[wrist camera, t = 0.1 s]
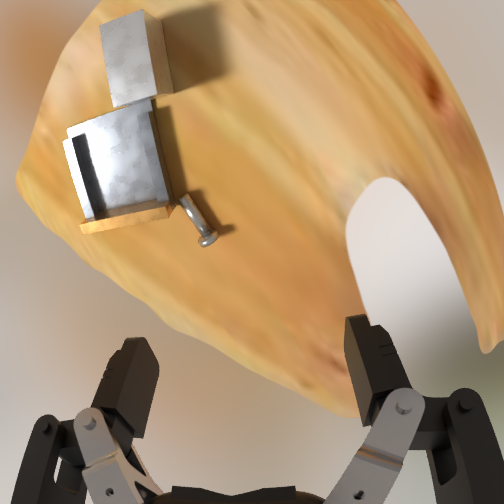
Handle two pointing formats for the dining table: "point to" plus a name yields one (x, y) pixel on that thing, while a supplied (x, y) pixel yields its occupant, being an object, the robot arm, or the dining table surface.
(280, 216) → the dining table surface
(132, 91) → the grey metal block
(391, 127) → the dining table surface
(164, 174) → the grey channel bracket
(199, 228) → the hitch pin
